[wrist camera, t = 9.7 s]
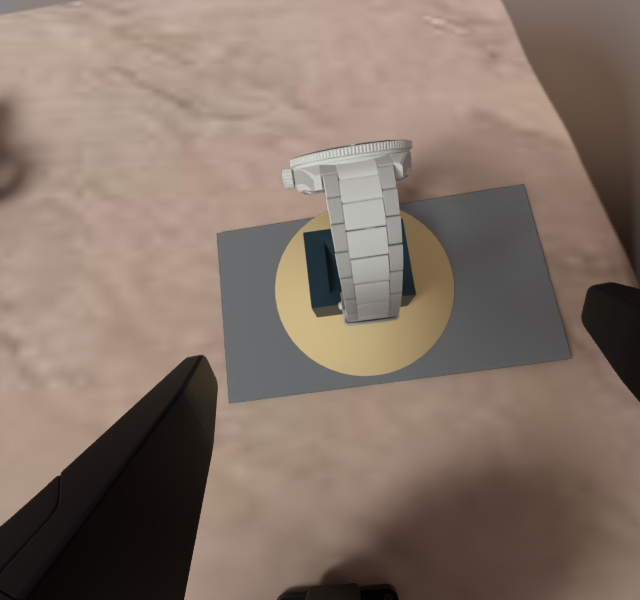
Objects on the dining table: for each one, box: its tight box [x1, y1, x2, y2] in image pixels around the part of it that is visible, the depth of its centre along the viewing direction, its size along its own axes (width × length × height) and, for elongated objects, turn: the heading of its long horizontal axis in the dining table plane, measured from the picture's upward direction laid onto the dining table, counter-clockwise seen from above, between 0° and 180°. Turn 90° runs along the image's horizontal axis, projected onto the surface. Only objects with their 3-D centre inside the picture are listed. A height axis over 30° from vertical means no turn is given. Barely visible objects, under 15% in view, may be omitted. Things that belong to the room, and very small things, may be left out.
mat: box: [217, 184, 572, 403], centre depth 22 cm, size 12×20×1 cm, turn 97°
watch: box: [282, 140, 416, 326], centre depth 17 cm, size 6×8×11 cm
